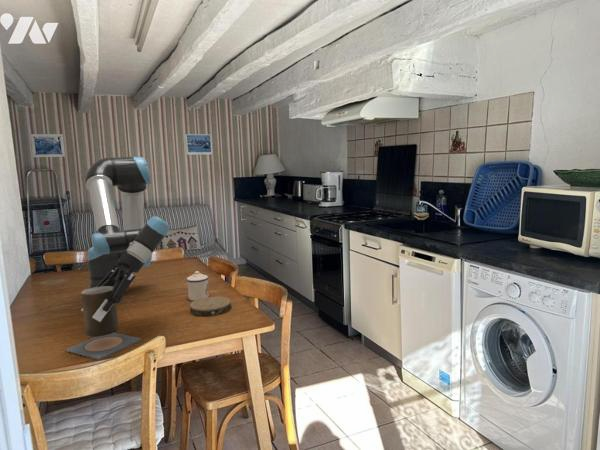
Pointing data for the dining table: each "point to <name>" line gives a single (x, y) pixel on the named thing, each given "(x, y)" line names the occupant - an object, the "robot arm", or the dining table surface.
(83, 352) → the mat
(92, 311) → the pillar candle
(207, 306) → the wood log slice
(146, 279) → the dining table surface
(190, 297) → the teacup with lid
